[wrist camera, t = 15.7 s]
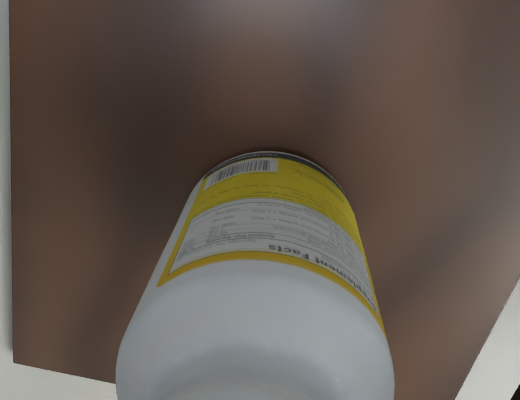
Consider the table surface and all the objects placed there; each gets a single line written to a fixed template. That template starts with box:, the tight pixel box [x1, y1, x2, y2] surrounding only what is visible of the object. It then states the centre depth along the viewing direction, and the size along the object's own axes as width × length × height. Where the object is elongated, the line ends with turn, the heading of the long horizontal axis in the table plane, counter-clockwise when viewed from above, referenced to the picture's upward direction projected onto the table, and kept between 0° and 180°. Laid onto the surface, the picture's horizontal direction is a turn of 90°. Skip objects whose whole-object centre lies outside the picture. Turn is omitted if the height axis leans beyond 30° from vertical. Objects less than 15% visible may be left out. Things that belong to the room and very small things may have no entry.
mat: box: [9, 0, 520, 400], centre depth 19 cm, size 20×20×1 cm
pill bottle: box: [116, 151, 395, 400], centre depth 14 cm, size 6×6×12 cm
